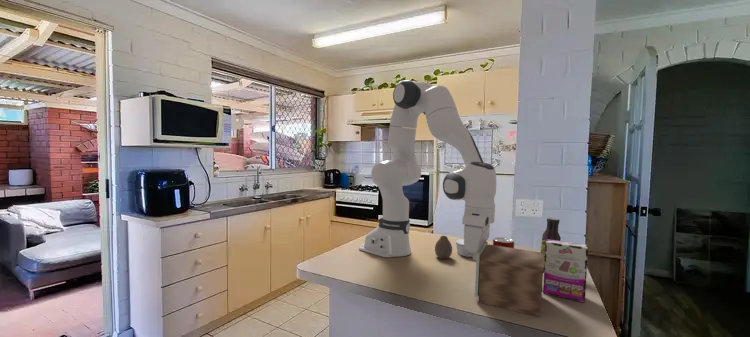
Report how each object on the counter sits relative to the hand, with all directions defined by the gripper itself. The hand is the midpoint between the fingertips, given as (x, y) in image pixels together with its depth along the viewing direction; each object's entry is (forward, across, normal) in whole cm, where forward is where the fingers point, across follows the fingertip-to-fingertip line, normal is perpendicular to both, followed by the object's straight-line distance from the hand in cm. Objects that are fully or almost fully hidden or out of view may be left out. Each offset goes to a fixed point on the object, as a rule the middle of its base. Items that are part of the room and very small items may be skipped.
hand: (476, 259), depth 100 cm
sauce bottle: (+10, -33, +20) cm, 40 cm away
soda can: (+10, -22, +5) cm, 25 cm away
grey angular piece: (+9, 0, +9) cm, 12 cm away
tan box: (+10, 0, +10) cm, 14 cm away
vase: (+11, -26, -18) cm, 33 cm away
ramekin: (+11, -37, -10) cm, 40 cm away
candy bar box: (+10, -12, +24) cm, 29 cm away
